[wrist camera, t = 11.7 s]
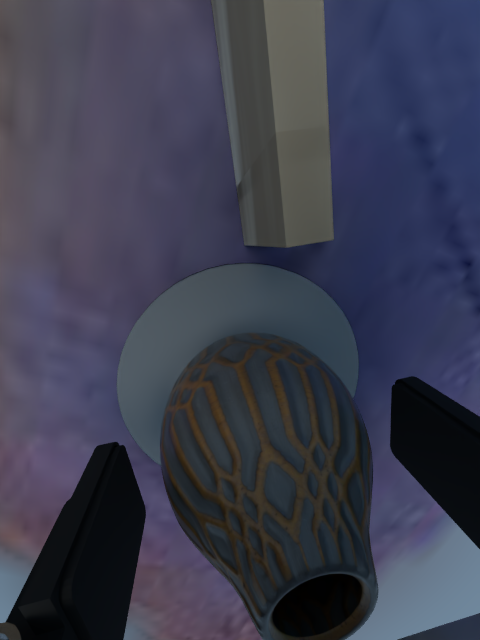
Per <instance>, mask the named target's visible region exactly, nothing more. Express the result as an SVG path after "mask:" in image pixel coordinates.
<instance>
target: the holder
mask: <svg viewBox="0 0 480 640" xmlns="http://www.w3.org/2000/svg"><path fill="white" fill-rule="evenodd" d="M211 4H212V11H213V19H214V26H215V33H216V41H217V48H218V55H219V63H220V70H221V77H222V85H223V92H224V99H225V107H226V114H227V121H228V129H229V136H230V143H231V151H232V158H233V165H234V173H235V180H236V187H237V195H238V202H239V209H240V217H241V224H242V231H243V239H244V245H248V246H266V247H285V248H287V247H293V246H300V245H306V244H312V243H318V242H324V241H331V240H334V231H333V208H332V185H331V162H330V139H329V116H328V92H327V69H326V46H325V23H324V0H211Z"/></svg>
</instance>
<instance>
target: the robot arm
mask: <svg viewBox="0 0 480 640" xmlns="http://www.w3.org/2000/svg"><path fill="white" fill-rule="evenodd" d="M390 447H391V450H392V453H393V454H394V456H395V457H396V458H397V459H398V460H399V461H400V463H401V464H402V465H403V466H404V467H405V468H406V469H407V470H408V471H409V472H410V473H411V475H412V476H413V477H414V478H415V479H416V480H417V481H418V482H419V483H420V484H421V485H422V487H423V488H424V489H425V490H426V491H427V492H428V493H429V494H430V495H431V496H432V498H433V499H434V500H435V501H436V502H437V503H438V504H439V505H440V506H441V507H442V508H443V510H444V511H445V512H446V513H447V514H448V515H449V516H450V517H451V518H452V519H453V521H454V522H455V523H456V524H457V525H458V526H459V527H460V528H461V529H462V530H463V531H464V533H465V534H466V535H467V536H468V537H469V538H470V539H471V540H472V541H473V542H474V543H475V545H476V546H477V547H478V548H479V549H480V417H479V416H478V415H476V414H474V413H473V412H471V411H470V410H468V409H466V408H465V407H463V406H462V405H460V404H458V403H457V402H455V401H454V400H452V399H450V398H449V397H447V396H446V395H444V394H442V393H441V392H439V391H438V390H436V389H434V388H433V387H431V386H430V385H428V384H426V383H425V382H423V381H422V380H420V379H418V378H417V377H414V376H411V377H407V378H402V379H398V380H396V382H395V385H393V386H392V398H391V434H390ZM145 518H146V510H145V505H144V502H143V499H142V496H141V493H140V490H139V487H138V484H137V481H136V478H135V475H134V472H133V469H132V466H131V463H130V460H129V457H128V454H127V451H126V448H125V446H124V445H121V446H119V444H118V443H117V442H112V443H108V444H103V445H99V446H97V447H96V448H95V450H94V452H93V454H92V456H91V458H90V460H89V462H88V464H87V466H86V468H85V470H84V472H83V475H82V477H81V479H80V481H79V483H78V485H77V487H76V489H75V491H74V493H73V495H72V497H71V499H69V500H68V501H67V502H66V504H65V505H64V507H63V509H62V511H61V513H60V515H59V517H58V519H57V521H56V523H55V525H54V527H53V529H52V531H51V533H50V535H49V537H48V539H47V541H46V543H45V545H44V547H43V549H42V551H41V553H40V555H39V557H38V559H37V561H36V563H35V565H34V567H33V569H32V571H31V573H30V575H29V577H28V579H27V581H26V583H25V585H24V587H23V589H22V591H21V593H20V595H19V597H18V599H17V601H16V603H15V605H14V607H13V609H12V611H11V613H10V615H9V617H8V619H7V621H6V622H5V623H0V640H123V638H124V633H125V627H126V622H127V616H128V611H129V605H130V600H131V594H132V589H133V584H134V578H135V573H136V567H137V562H138V556H139V551H140V546H141V540H142V535H143V529H144V524H145ZM398 640H480V613H479V614H476V615H473V616H469V617H466V618H463V619H460V620H457V621H454V622H451V623H447V624H444V625H441V626H438V627H435V628H432V629H429V630H426V631H423V632H420V633H417V634H414V635H411V636H407V637H404V638H402V639H398Z"/></svg>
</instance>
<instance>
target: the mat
mask: <svg viewBox="0 0 480 640" xmlns="http://www.w3.org/2000/svg"><path fill="white" fill-rule="evenodd" d="M242 333H268V334H273V335H277V336H281V337H284V338H287V339H290V340H292V341H294V342H297V343H298V344H300V345H302V346H304V347H305V348H307V349H308V350H310V351H311V352H313V353H314V354H315V355H316V356H318V357H319V358H320V359H321V360H323V361H324V362H325V363H326V364H327V365H328V366H329V367H330V368H331V369H332V370H333V371H334V372H335V373H336V374H337V376H338V377H339V378H340V379H341V381H342V382H343V383H344V385H345V386H346V388H347V389H348V391H349V392H350V394H351V396H352V398H354V395H355V391H356V387H357V381H358V371H359V360H358V349H357V345H356V341H355V337H354V334H353V331H352V329H351V326H350V324H349V322H348V320H347V318H346V317H345V315H344V313H343V311H342V310H341V309H340V307H339V306H338V305H337V304H336V302H335V301H334V300H333V299H332V298H331V297H330V296H329V295H328V294H327V293H326V292H325V291H324V290H323V289H321V288H320V287H318V286H317V285H316V284H314V283H313V282H311V281H310V280H308V279H306V278H304V277H302V276H300V275H298V274H296V273H293V272H290V271H287V270H284V269H281V268H278V267H275V266H269V265H263V264H254V263H237V264H226V265H221V266H217V267H213V268H208V269H205V270H203V271H200V272H198V273H195V274H192V275H190V276H188V277H186V278H185V279H183V280H181V281H179V282H177V283H176V284H174V285H173V286H171V287H170V288H169V289H167V290H166V291H165V292H163V293H162V294H161V295H160V296H159V297H158V298H157V299H156V300H155V301H154V302H152V303H151V304H150V305H149V307H148V308H147V309H146V310H145V312H144V313H143V314H142V316H141V317H140V318H139V319H138V321H137V322H136V324H135V325H134V327H133V329H132V331H131V332H130V334H129V336H128V338H127V340H126V343H125V345H124V348H123V350H122V353H121V357H120V362H119V366H118V374H117V395H118V402H119V406H120V411H121V414H122V417H123V419H124V422H125V424H126V427H127V429H128V430H129V432H130V434H131V435H132V437H133V439H134V440H135V442H136V443H137V444H138V445H139V447H140V448H141V449H142V450H143V451H144V452H145V453H146V454H147V455H148V456H149V457H150V458H151V459H152V460H153V461H155V462H156V463H158V464H159V465H160V466H161V460H160V434H161V426H162V420H163V416H164V412H165V408H166V404H167V401H168V398H169V396H170V393H171V390H172V388H173V386H174V384H175V382H176V380H177V379H178V377H179V376H180V374H181V373H182V371H183V370H184V368H185V367H186V366H187V365H188V363H189V362H190V361H191V360H192V359H193V358H194V357H195V356H196V355H198V354H199V353H200V352H201V351H202V350H204V349H205V348H206V347H208V346H209V345H211V344H213V343H215V342H216V341H219V340H221V339H223V338H226V337H229V336H232V335H236V334H242Z"/></svg>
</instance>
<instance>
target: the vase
mask: <svg viewBox="0 0 480 640" xmlns="http://www.w3.org/2000/svg"><path fill="white" fill-rule="evenodd" d="M160 460H161V468H162V475H163V479H164V484H165V488H166V492H167V495H168V498H169V501H170V504H171V507H172V509H173V512H174V514H175V516H176V518H177V520H178V522H179V524H180V526H181V528H182V529H183V531H184V532H185V534H186V535H187V537H188V538H189V539H190V541H191V542H192V543H193V544H194V545H195V547H196V548H197V549H198V550H199V551H200V552H201V553H202V554H203V556H204V557H205V558H206V559H207V560H208V561H209V562H210V563H211V564H212V565H213V566H214V567H215V568H216V569H217V570H218V571H219V572H220V573H221V574H222V575H223V576H224V577H225V578H226V579H227V580H228V582H229V583H230V584H231V585H232V586H233V587H234V589H235V590H236V592H237V593H238V595H239V596H240V598H241V600H242V601H243V603H244V605H245V607H246V609H247V611H248V613H249V615H250V617H251V619H252V621H253V623H254V625H255V627H256V629H257V631H258V633H259V634H260V636H261V637H262V639H263V640H345V639H347V638H348V637H350V636H351V635H353V634H354V633H355V632H356V631H357V630H358V629H360V628H361V626H362V625H363V624H364V623H365V622H366V621H367V620H368V618H369V617H370V615H371V614H372V612H373V610H374V608H375V605H376V602H377V598H378V583H377V577H376V572H375V567H374V562H373V557H372V551H371V546H370V535H369V524H370V513H371V500H372V484H373V461H372V452H371V446H370V442H369V437H368V433H367V430H366V427H365V424H364V422H363V419H362V417H361V414H360V412H359V410H358V408H357V405H356V403H355V401H354V400H353V398H352V396H351V394H350V392H349V391H348V389H347V388H346V386H345V385H344V383H343V382H342V381H341V379H340V378H339V377H338V376H337V374H336V373H335V372H334V371H333V370H332V369H331V368H330V367H329V366H328V365H327V364H326V363H325V362H324V361H323V360H321V359H320V358H319V357H318V356H316V355H315V354H314V353H313V352H311V351H310V350H308V349H307V348H305V347H304V346H302V345H300V344H298V343H297V342H294V341H292V340H290V339H287V338H284V337H281V336H277V335H273V334H268V333H242V334H236V335H232V336H229V337H226V338H223V339H221V340H219V341H216V342H215V343H213V344H211V345H209V346H208V347H206V348H205V349H204V350H202V351H201V352H200V353H199V354H198V355H196V356H195V357H194V358H193V359H192V360H191V361H190V362H189V363H188V365H187V366H186V367H185V368H184V370H183V371H182V373H181V374H180V376H179V377H178V379H177V380H176V382H175V384H174V386H173V388H172V390H171V393H170V396H169V398H168V401H167V404H166V408H165V412H164V416H163V420H162V426H161V434H160Z"/></svg>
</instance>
